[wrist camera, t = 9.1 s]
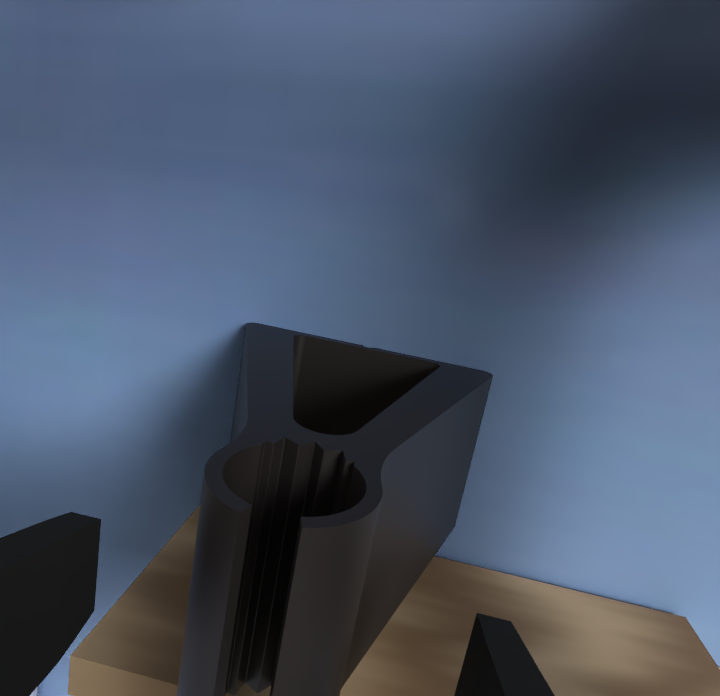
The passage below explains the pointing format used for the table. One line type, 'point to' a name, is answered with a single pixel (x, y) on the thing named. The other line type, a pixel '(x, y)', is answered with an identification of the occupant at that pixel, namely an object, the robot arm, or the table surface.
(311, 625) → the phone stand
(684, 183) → the table surface
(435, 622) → the door
